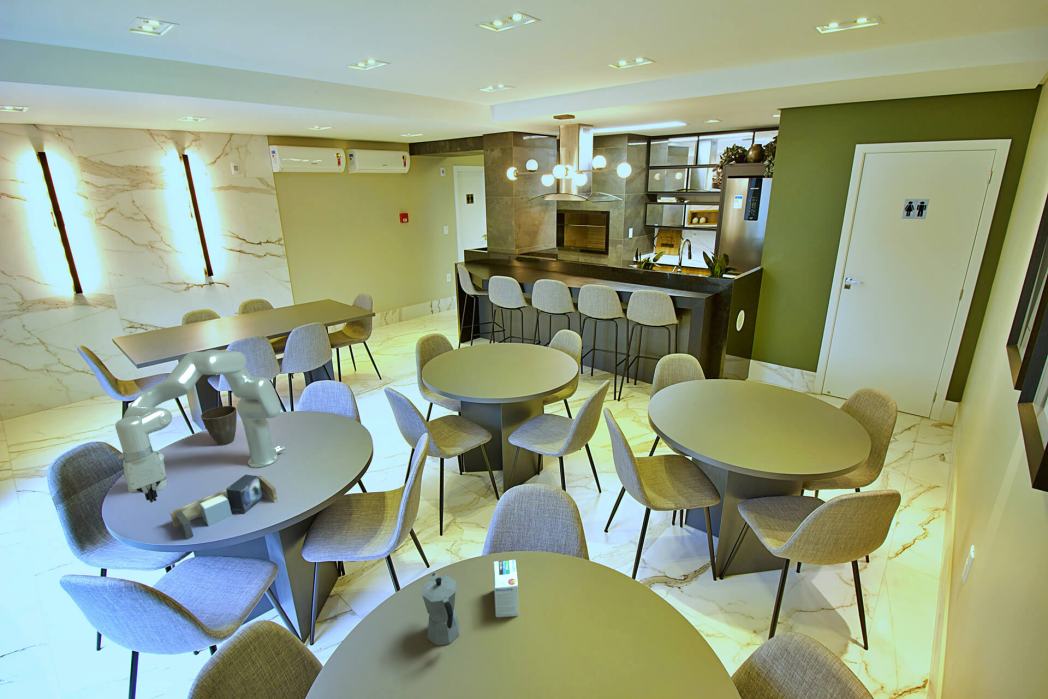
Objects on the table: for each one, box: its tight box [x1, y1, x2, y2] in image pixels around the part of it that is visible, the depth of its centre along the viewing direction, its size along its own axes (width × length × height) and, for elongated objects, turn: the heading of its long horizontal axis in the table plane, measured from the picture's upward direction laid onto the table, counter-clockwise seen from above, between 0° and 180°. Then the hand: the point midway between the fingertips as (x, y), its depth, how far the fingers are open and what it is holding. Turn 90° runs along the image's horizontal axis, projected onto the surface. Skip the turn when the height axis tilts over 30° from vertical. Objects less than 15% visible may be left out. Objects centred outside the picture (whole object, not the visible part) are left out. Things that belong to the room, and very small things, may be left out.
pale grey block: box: [200, 494, 233, 527], centre depth 187 cm, size 8×6×8 cm
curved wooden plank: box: [169, 474, 278, 528], centre depth 190 cm, size 32×14×6 cm, turn 138°
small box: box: [225, 474, 264, 515], centre depth 194 cm, size 11×6×10 cm, turn 168°
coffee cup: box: [146, 450, 168, 492], centre depth 207 cm, size 10×10×15 cm
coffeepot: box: [421, 572, 460, 646], centre depth 134 cm, size 15×9×18 cm, turn 28°
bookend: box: [175, 511, 194, 540], centre depth 180 cm, size 2×10×6 cm, turn 47°
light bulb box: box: [493, 559, 519, 618], centre depth 145 cm, size 11×7×11 cm, turn 5°
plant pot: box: [200, 405, 238, 446], centre depth 244 cm, size 15×15×16 cm
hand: (152, 500), depth 171 cm, fingers closed
